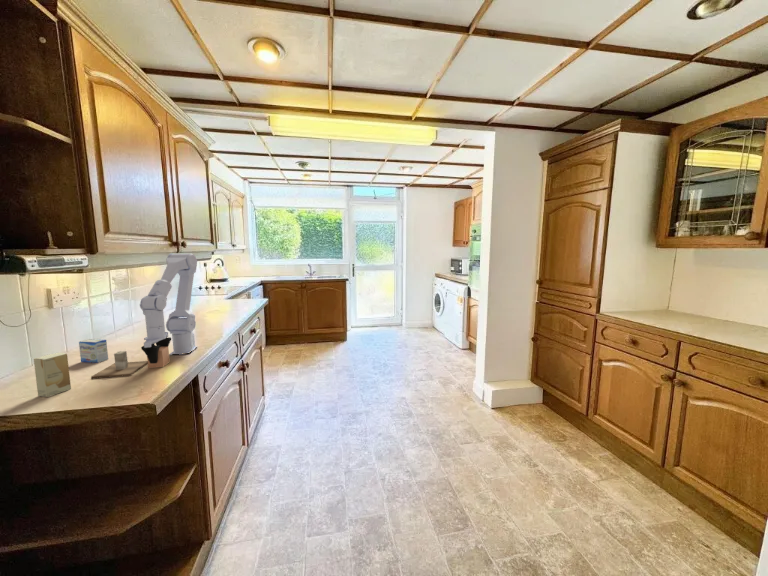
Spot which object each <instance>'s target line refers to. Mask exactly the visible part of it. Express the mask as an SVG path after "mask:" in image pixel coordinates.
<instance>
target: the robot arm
mask: <svg viewBox="0 0 768 576" xmlns="http://www.w3.org/2000/svg"><path fill="white" fill-rule="evenodd" d="M165 261H166V263H165V264H166V267H165V269H164V271H163V274H162V276H161V277H160V278H161V279H158V280H156V281H155V282H154V284H153V286H152V287H151V289H150V291H149V292H148V294H147V295H145V296H144V297H142V298H141V299H140V303H139V308H140V309H141V310H142V314H143V315H144V317H145V327H146V337H144V338H143V340H144V342H143V346H141V347H140V348H141V350H142V351H143V352H144V353H145V355H146V358H147V357H148V359H149V362H150V364H152V363H157V361H158V351H159V348H160V347H166V346H168V347H169V345H170V343H171V342H172V349H173V350H172V351H171V352H170V353H169V356H173V355H172V354H179V355H183V354H182V353H189V352H190V351H192V350H194V349H195V348H196V347H197V348H198V345H196V340H195V339H196V338H195V333H194V330H195V328H196V314H194V313H193V312H191V311H190V307H191V300H192V293H193V285H194V277H195V274H196V273H197V266H198V259H197V257H196V256H195V254H194V253H192V252H190V253H173V252H172V253H170V252H169V254H168V255H167V258H166V259H165ZM176 275H179V281H178V288H177V289H178V290H177V296H176V302H175V310H174V311H172V312H171V313H169V314H168V319H167V321H166V324H165V316H164V309H165V308H166V307H167V301H168V295H169V293H170V291H171V289H172V287H173V286H172V284H171V283H172V282H173V279H174V278H175V277H176ZM169 334H170V335H171V337H169ZM197 348H196V349H197ZM196 349H195V350H196ZM195 350H194V351H195ZM192 352H193V351H192Z"/></svg>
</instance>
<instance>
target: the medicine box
mask: <svg viewBox="0 0 768 576" xmlns="http://www.w3.org/2000/svg"><path fill="white" fill-rule="evenodd" d="M78 347H79V354H80V355H79V357H80V362H81V363H91V362H92V363H94V364H95V363H96V364H98V363H101V362H106V361H107V360H109V352H108V343H107V339H101V338H100V339H98V338H97V339H95V338H94V339H93V338H87V339H84V340H80V341H78ZM92 363H91V364H92Z"/></svg>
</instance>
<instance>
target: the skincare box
mask: <svg viewBox="0 0 768 576" xmlns="http://www.w3.org/2000/svg"><path fill="white" fill-rule="evenodd" d="M33 364H34V374H35V381H36V391H37V396H38V397H45V398H48V397H49V396H50V397H52V396H54V395H57V394H60V393H63V392H66V391H69V390H71V389H72V385H71V377H70V375H71V374H70V368H69V357H68V353H65V352H54V353H51V354H46V355H41V356H39V357H34V358H33ZM50 397H49V398H50Z"/></svg>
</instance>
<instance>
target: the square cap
mask: <svg viewBox="0 0 768 576" xmlns="http://www.w3.org/2000/svg"><path fill="white" fill-rule="evenodd" d="M146 358H147V359H146V361H148V364H147V368H148V369H151V368H153V369H154V368H164V367H166V366H167V365H168V364H169V363H170V362H169V361H170V353H169V346H166V347H160V348H159V351H158V361H157V363H152V364H150V362H149V359H148V357H147V356H146ZM168 362H169V363H168ZM167 363H168V364H167ZM163 366H164V367H163Z"/></svg>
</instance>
